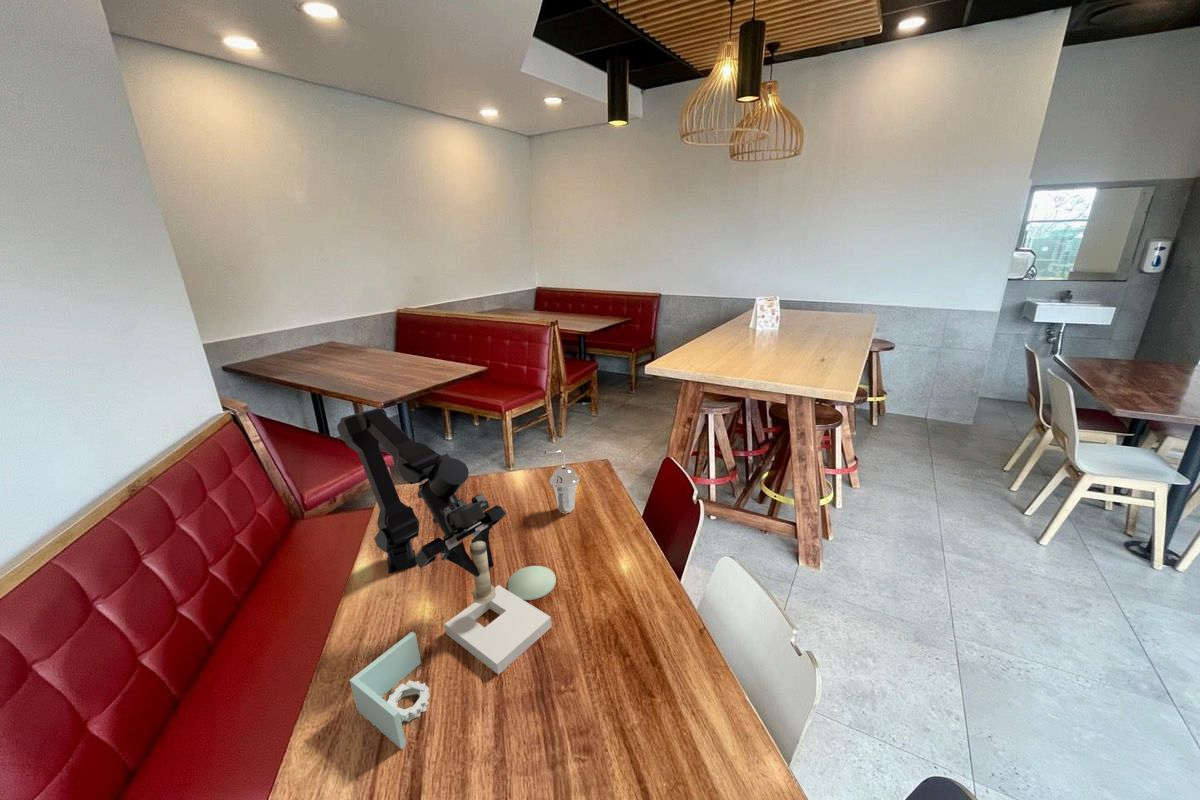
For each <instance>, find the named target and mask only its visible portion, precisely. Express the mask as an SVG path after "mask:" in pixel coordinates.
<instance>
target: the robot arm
mask: <svg viewBox="0 0 1200 800" xmlns="http://www.w3.org/2000/svg"><path fill="white" fill-rule="evenodd" d="M336 428H337V432H338V434H339V436H340V437H341V438H342V439H343V441H344V443H345V445H346V446H347V447H349V448H350V449H351V450H353V451H354V452H356V453H357V455H358V457H359V459H360V463H361V465H362V467H363V470H364V472H365V475H366V478H367V480H368V483H369V485H370V487H371V490H372V493H373V496H374V498H375V501H376V503H377V505H378V508H379V511H378V517H377V521H376V522H377V523H376V524H377V527H378V532H377V534H376V535H375V536H374V537H373V538H374V541H375V544H376V547H377V548H378V549H380V550H382V551H383V552H385V553H386V554H387V557H386V561H387V569H388V570H387V571H388V574H393V573H397V572H400V571H403V570H406V569H409V568H412V567H416V566H418V567H419V569H423V568H425V567H426V566H428V565H429V564H431V563H433V562H434V561H435V560H436V557H437V556H438V555H439V554H441V555H442V557H441V558H440V560H441V561H442V562H443V561H445V560H447V561H449V562H451V563H454V564H455V565H457V566H459V567H461V568H462V569H463V570H465V571H467V572H468V573H469V574H472V575H473V577H474V576H476V577H478V576H480V573H479V571H478V569H477V567H476V566H475V564H474V563H473V561H472V558H471V557H470V555H469V554H468V552H467V551H466V548H465V544H464V542H463V541H462V540H464V539H466V538H467V537H469V536H472V540H470V542H471V544H472V543H474V542H476V541H484V542H485V543H486V548H487V549H486V550H487V558H488V566H489V569H491V568H493V567H494V562H493V556H492V551H491V546H490V540H489V537H490V536H489V535H490V531H491V530H492V529H493V526H495V525H497V524H498V523H499V522H500V521H502V519H503V518H504V517H505V516H507V512H506V510H505V509H504V507H502V506H501V505H498V504H496V505H494V506H493V507H491V508H490V504H489V502H488V500H487V498H486V497H485V495H484V494H483V493H480V494H479V493H478V494H477V495H475V496H473V497H472V498H471V502H470V503H466V501H465V499H463V498H460V499H459V497H458V496H457V494H456V493H457V492H458V491H459V490H460V489H461V487H462V486H463V484H464V483H465V482H466V481H467V479H468V478H469V473H470V472H469V467H468V466H467V464H466V463H465V462H464V461H462V460H460V459H458V458H453V457H450V455H449V454H448V453H445V454H443V455H441V454H439V453H438V452H436V451H435V450H434V449H432V448H431V447H430V446H428V445H426V444H425V443H421V442H417V441H414V440H412V439H411V438H410V437H409V436H408V435H407V433H405V432H404V431H403V430H402V429H401V428H400V427H399V426H398V425H397V424H396V423H395V422H394V421H393V420H392V419H390V417H389V416H388V415H387V412H386V410H385V409H384V408H382V407H381V408H379V407H376V408H373V409H370V410H365V411H361V412H358V413H354V414H350V415H347V416H342V417H341V418H340V421H339V423H337V427H336ZM380 444H381V445H382V447H383V448H384V449H386V450H387V452H388V453H390V454H391V456H392V457H393V458H394V459H395V460H396V462H397V463H396V464H397V465H396V466H397V472H399V474H400V476H401V478H402V480H403V481H405V482H406V483H408V484H410V485H414V484H419V483H420V482H423V481H425V480H426V481H425V482H423V483H421V484H419V485H418V492H417V498H418V499H421V498H422V499H423V501H424V503H425V505H426V506H427V507H428V509H429V512H431V514H432V517H433V519H432V521H433V523H434V525H436V524H438V526H439V528H440V529H441V531H442V533H443V535H444V536H442V538H443V539H442V538H440V537H436V538H435V539H433V540H431V541H430V542H428V543H426V544H425V545H423V546H421V548H420V549H419V550H418V551H417V553H416V552H415V550H414V549H413V545H412V539H414V538H417V537H419V536H420V535H419V534H420V531H419V530H420V521H419V518H418V517H417V516H416V514H415V512H414V508H413V507H411V506H410V505H407V504H406V503H403V502H402V501H401V499H400V497H399V493H398V491H397V489H396V486H395V483H394V481H393V478H392V475H391V474H390V471H389V468H388V466H387V462H386V460H385V458H384V455H383V452H382V451H381V448H380ZM461 541H462V542H461ZM459 542H460V543H459Z"/></svg>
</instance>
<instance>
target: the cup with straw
mask: <svg viewBox="0 0 1200 800" xmlns="http://www.w3.org/2000/svg"><path fill="white" fill-rule="evenodd" d="M544 454H561V461H562V466H559V467H558V468H556V469H555V470H554V472H553V474H552V475H551V476H550V478H549V483H550V485H551V486H552V488H553V491H554V494H555V499H556V504H557V508H558V511H559V510H560V511H561V512H564V513H568V512H571V511H572V510H573V509H574V510H575V503H576V492H577V491H576V490H577V486H578V483H579V482H580V476H579V475H578V473H576V470H574V469H573V468H572V467H571V466H567V465H566V455H565V451H564V450H545V451H544Z"/></svg>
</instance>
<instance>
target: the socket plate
mask: <svg viewBox="0 0 1200 800" xmlns="http://www.w3.org/2000/svg"><path fill="white" fill-rule="evenodd" d="M494 588H495V593H496V595H495V598H494V599H493V600H492V601H490V602H488V603H485V604H479V603H476V602H475V601H474V602H473V603H472V604H470V605H468V606H467V607H466V608H464V609H463V610H461V612H459V613H458V614H457V615H455V616H453V617H452V618H451V619H449V620H448V621H447V622H445V623H444V628H445V633H446V635H447V636H448V637H450V638H451V639H452V640H453V641H455V642H456V643H457V644H459V645H460V646H461V647H463V649H465V650H466V651H467V652H469V653H470V654H471V655H472V656H474V657H475V658H476V659H478V660H479V661H480V662H482V663H483V664H484V665H485V666H486V667H488V668H489V669H491V670H492V671H493V673H495V674H497V675H498V676H499V675H500V674H501V673H502V672H504V671H505V669H507V668H508V667H509V666H510V665H511V664H512V663H513V662H514V661H516V660H517V659H518V658H519V657H520V656H521V655H522V654H523V653H525V652H526V651H527V650H528V649H529V648H530V647H531V646H532V645H533V644H534V643H536V642H537V641H538V640H539V639H540V638H541V637H542V636H543V635H545V633H546V632H548V631H549V630H550V629H551V628H552V627H553V626H552V616H550V615H549V614H548V613H545V612H544V611H542V610H540V609H539V608H537V607H536V606H534V605H532V604H530V603H529V602H527V600H522V599H521V598H519V597H518V596H516V595H514V594H513V593H511V592H509V590H508V589H506V588H504V587H503V586H501V585H500V584H497V586H494ZM489 610H491V611H493V612H494V613H496V614H497V615H499V616H497V617H496V618H495V619H494V620H492V621H491V622H490V623H489V624H487V625H486V626H485V627H484V626H483V625H482V624H481V623H479V622H478V621H476V620H477V619H479V618H480V617H481V616H482V615H483V614H486V613H487V611H489Z"/></svg>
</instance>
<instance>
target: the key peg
mask: <svg viewBox="0 0 1200 800" xmlns="http://www.w3.org/2000/svg"><path fill="white" fill-rule="evenodd" d="M486 549H487V548H486V543H485V542H484V541H476V542H474V543H472V542H471V544H470V545H469V551H470V556H471V557H470V558H471V560H472V561H473V563H474V564H475V566H476V567H477V569H478V571H479V573H480V576H478V577H476V576H474V575H473V578H474V585H475V586H474V587H475V589H474V590H473V592H472V598H473V601H474V602H476V603H479V604H485V603H488V602H490V601H492V600H493V599H494V598H495V595H496V593H495V586H494V585H492V582H491V576H490V575H491V574H490V567H489V566H488V558H487V550H486Z"/></svg>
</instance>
